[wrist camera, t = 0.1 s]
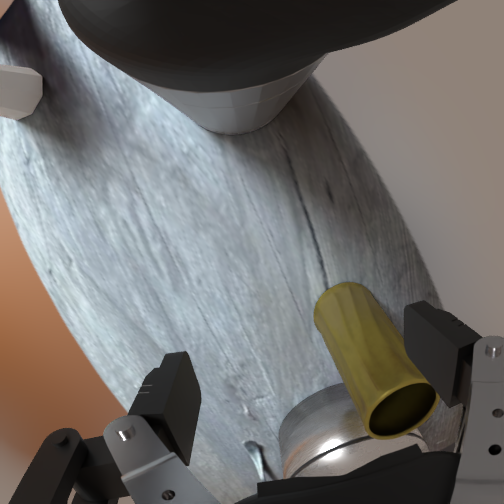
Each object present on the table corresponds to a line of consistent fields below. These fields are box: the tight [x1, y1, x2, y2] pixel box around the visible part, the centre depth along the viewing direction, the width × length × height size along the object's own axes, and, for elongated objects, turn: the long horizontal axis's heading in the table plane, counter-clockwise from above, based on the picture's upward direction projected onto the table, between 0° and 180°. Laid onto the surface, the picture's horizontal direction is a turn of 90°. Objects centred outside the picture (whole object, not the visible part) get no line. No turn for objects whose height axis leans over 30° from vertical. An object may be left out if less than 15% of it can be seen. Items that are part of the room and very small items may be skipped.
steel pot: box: [278, 383, 429, 479], centre depth 30 cm, size 16×16×9 cm
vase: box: [314, 282, 440, 440], centre depth 23 cm, size 6×6×14 cm
